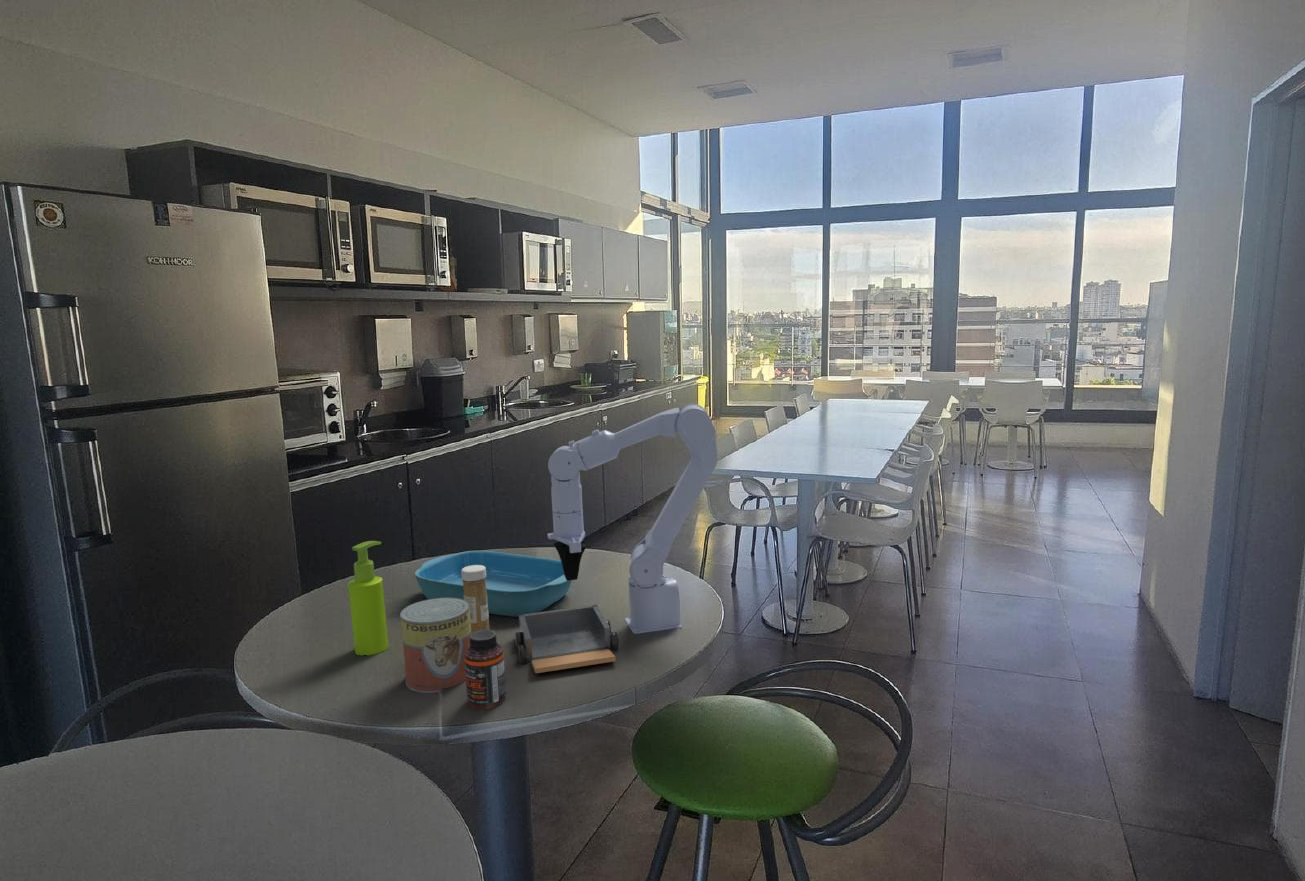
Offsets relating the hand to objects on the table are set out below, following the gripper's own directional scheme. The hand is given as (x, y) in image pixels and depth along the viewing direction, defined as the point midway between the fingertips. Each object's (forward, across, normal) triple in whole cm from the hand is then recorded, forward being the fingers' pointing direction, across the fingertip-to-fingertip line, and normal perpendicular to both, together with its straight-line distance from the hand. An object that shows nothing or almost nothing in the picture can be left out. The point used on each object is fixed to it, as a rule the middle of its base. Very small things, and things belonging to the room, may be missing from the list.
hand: (571, 579), depth 146 cm
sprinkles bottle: (+10, -3, -18) cm, 21 cm away
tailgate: (+9, +14, -3) cm, 17 cm away
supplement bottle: (+10, +25, -18) cm, 32 cm away
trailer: (+10, +7, -3) cm, 12 cm away
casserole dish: (+10, -23, -13) cm, 28 cm away
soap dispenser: (+10, -4, -37) cm, 39 cm away
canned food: (+10, +13, -25) cm, 30 cm away
